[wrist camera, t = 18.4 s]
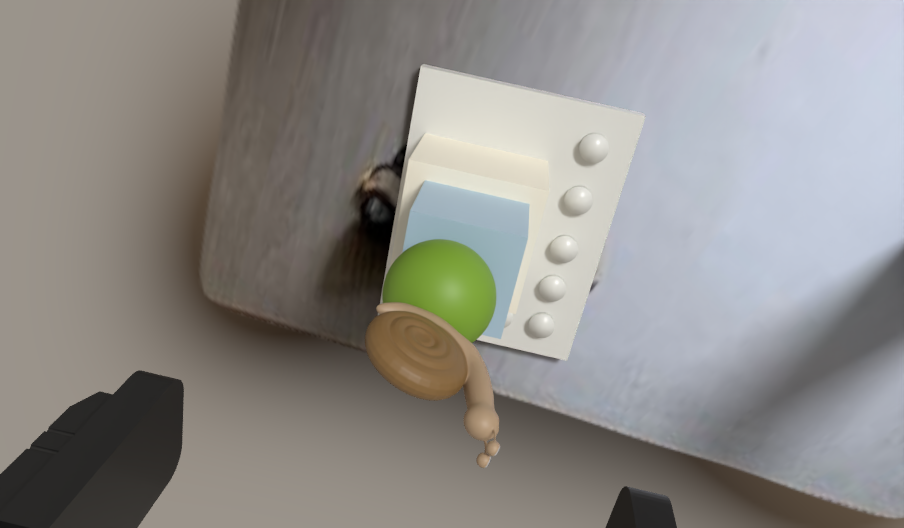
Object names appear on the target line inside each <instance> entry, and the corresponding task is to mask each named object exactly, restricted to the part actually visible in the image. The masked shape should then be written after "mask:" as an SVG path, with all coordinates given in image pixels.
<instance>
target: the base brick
mask: <svg viewBox="0 0 904 528" xmlns="http://www.w3.org/2000/svg"><path fill="white" fill-rule="evenodd" d="M425 180H427V181H431V182H436V183H440V184H445V185H449V186H453V187H458V188H462V189H466V190H471V191H475V192H480V193H484V194H488V195H493V196H497V197H501V198H506V199H510V200H515V201H519V202H523V203H528V204H530V205H529V229H528V240H527V244H526V248H525V251H524V255H523V259H522V263H521V266H520V270H519V274H518V277H517V281H516V285H515V289H514V292H513V296H512V300H511V303H510V307H509V311H508V312H509V313H513V314H516V312H517V308H518V304H519V301H520V297H521V293H522V290H523V286H524V282H525V279H526V275H527V271H528V268H529V264H530V260H531V257H532V253H533V249H534V246H535V242H536V238H537V235H538V231H539V227H540V224H541V220H542V217H543V213H544V209H545V206H546V202H547V198H548V195H549V168H548V161H546V160H542V159H537V158H533V157H529V156H524V155H520V154H515V153H511V152H506V151H502V150H497V149H493V148H489V147H484V146H480V145H475V144H471V143H466V142H462V141H458V140H453V139H449V138H444V137H440V136H435V135H431V134H427V133H425V134H424V136H423V137H422V139H421V141H420V142H419V144H418V145H417V147H416V149H415V150H414V152H413V153H412V155H411V157H410V158H409V161H408V167H407V172H406V178H405V184H404V189H403V195H402V201H401V207H400V212H399V218H398V224H397V230H396V235H395V241H394V247H393V252H392V258H391V264H390V267H391V265H392V264H393V262H394V261H395V260H396V259H397V258H398V256H399V255H401V254H402V252H403V246H404V241H405V235H406V230H407V224H408V219H409V214H410V210H411V208H412V206H413V204H414V202H415V200H416V198H417V196H418V194H419V192H420V190H421V188H422V186H423V184H424V182H425Z"/></svg>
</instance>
